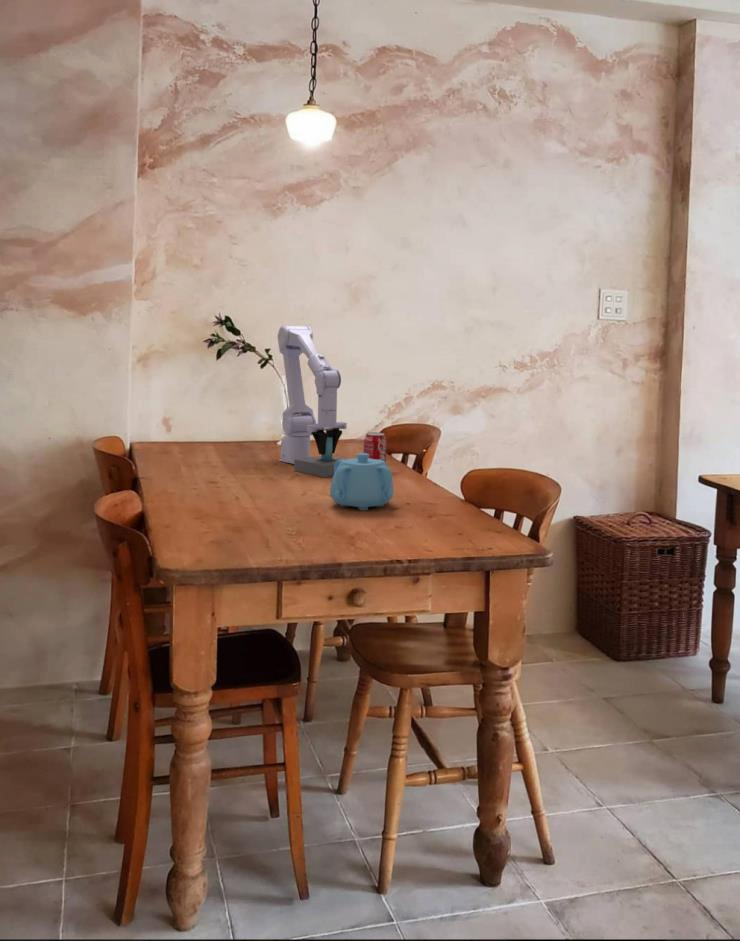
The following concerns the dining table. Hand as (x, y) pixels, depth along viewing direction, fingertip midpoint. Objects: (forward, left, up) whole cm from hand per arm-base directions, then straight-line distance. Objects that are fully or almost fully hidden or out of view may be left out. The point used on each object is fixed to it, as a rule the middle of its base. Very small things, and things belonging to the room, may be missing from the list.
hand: (326, 453), depth 285 cm
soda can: (+9, +12, -6) cm, 16 cm away
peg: (0, 0, -3) cm, 3 cm away
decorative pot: (+42, -25, -6) cm, 49 cm away
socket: (0, 0, -6) cm, 6 cm away
